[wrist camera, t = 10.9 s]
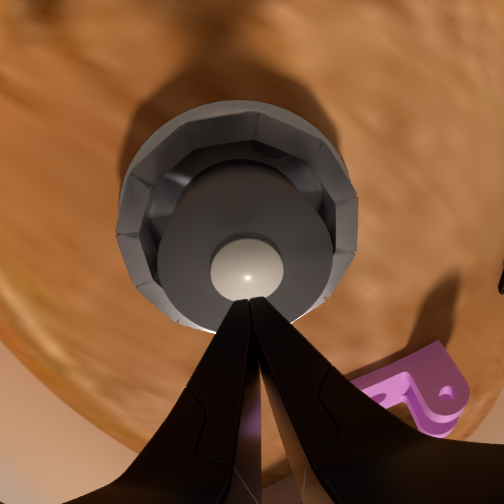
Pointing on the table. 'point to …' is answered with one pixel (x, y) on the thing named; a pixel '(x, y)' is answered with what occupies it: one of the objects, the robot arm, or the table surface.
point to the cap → (243, 244)
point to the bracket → (421, 388)
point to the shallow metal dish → (221, 149)
